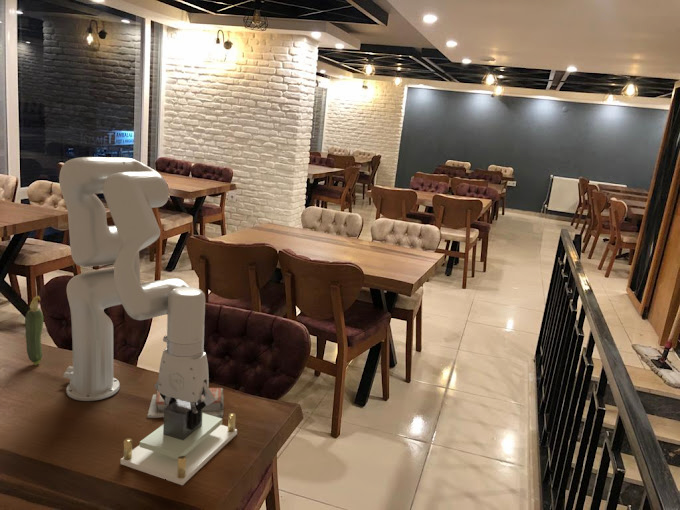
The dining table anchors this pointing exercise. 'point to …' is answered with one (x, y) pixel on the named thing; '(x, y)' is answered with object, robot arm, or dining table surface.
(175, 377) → the robot arm
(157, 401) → the packaged product
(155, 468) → the chassis
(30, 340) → the vegetable
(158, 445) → the board
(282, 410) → the dining table surface
